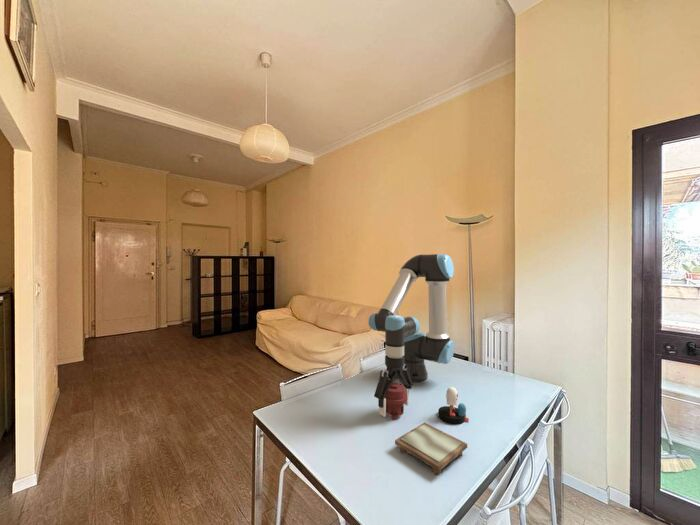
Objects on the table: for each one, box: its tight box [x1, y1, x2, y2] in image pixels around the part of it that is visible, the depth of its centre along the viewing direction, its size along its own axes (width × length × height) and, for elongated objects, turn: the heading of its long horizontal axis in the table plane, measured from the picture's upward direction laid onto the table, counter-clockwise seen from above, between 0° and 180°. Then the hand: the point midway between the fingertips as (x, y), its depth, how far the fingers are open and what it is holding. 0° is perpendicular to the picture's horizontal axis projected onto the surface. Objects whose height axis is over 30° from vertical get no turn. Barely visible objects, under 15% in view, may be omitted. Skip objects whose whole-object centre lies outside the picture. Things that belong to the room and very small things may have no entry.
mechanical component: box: [385, 381, 408, 421], centre depth 114 cm, size 12×10×10 cm
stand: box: [394, 421, 468, 475], centre depth 92 cm, size 16×16×4 cm
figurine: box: [437, 386, 470, 426], centre depth 112 cm, size 10×11×12 cm
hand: (394, 409), depth 113 cm, fingers open, 13 cm apart
